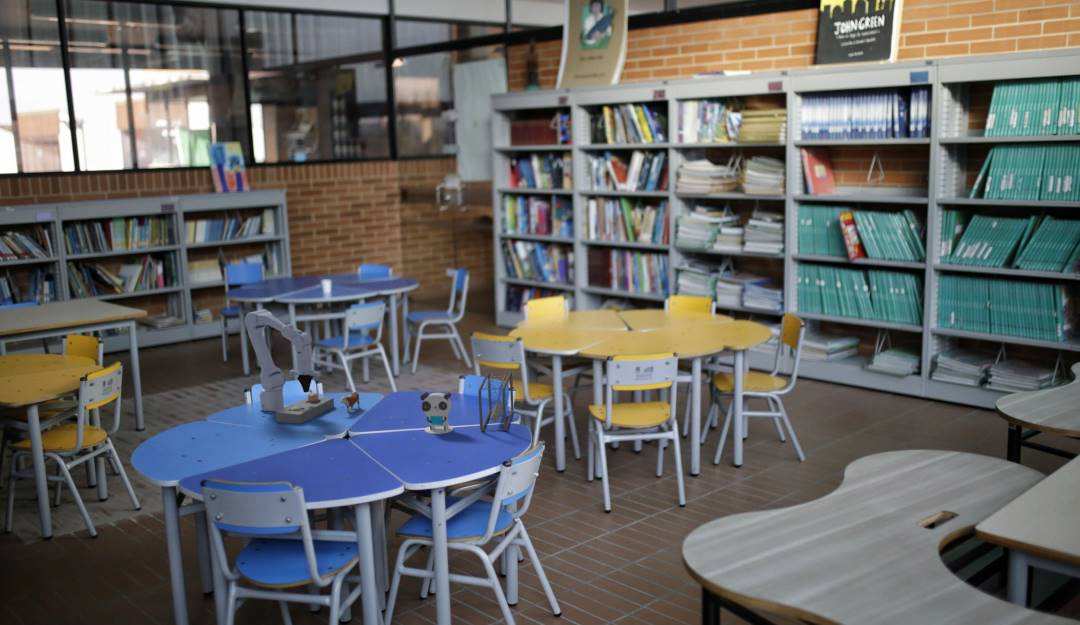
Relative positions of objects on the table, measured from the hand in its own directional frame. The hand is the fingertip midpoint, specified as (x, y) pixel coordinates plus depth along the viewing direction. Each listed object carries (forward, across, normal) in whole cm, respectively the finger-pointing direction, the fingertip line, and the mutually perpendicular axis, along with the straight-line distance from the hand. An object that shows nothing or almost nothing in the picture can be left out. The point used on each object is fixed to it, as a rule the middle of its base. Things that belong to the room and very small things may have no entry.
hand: (306, 391), depth 412 cm
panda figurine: (+10, +66, -7) cm, 67 cm away
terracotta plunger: (+6, 0, +5) cm, 8 cm away
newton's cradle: (+10, +85, +9) cm, 86 cm away
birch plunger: (+9, 0, -8) cm, 12 cm away
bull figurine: (+10, +17, +8) cm, 21 cm away
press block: (+9, 0, -2) cm, 10 cm away
